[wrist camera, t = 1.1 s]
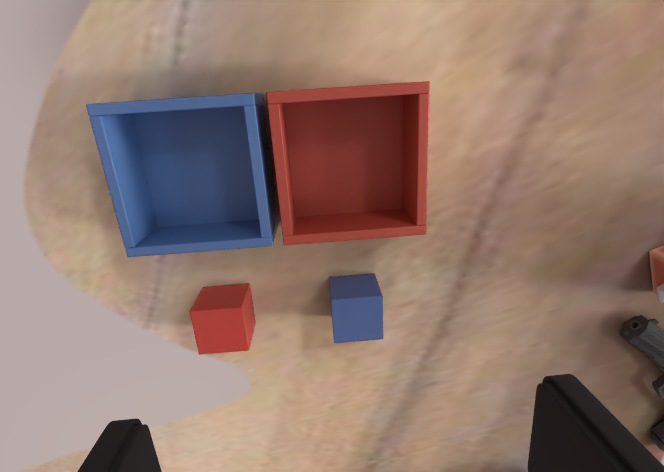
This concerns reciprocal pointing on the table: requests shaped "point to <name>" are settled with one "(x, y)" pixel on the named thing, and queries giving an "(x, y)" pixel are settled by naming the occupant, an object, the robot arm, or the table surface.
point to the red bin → (351, 161)
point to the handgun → (649, 356)
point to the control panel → (657, 271)
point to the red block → (223, 319)
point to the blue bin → (188, 172)
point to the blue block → (356, 308)
